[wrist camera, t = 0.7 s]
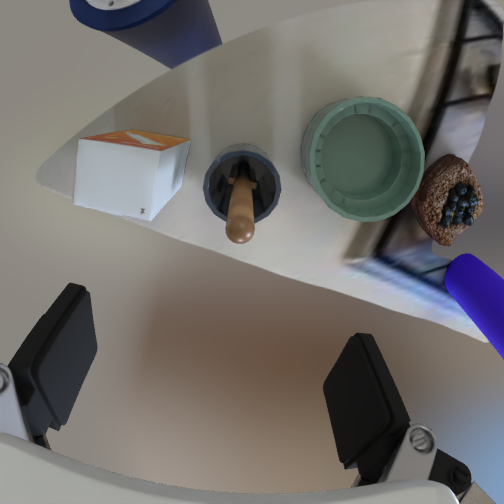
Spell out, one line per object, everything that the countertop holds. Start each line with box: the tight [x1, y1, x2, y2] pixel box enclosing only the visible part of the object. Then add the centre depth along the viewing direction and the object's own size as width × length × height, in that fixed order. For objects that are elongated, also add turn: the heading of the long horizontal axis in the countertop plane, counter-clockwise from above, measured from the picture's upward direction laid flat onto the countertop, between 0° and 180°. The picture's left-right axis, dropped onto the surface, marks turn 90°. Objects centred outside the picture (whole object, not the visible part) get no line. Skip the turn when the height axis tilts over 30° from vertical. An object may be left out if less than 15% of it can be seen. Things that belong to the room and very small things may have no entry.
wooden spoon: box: [226, 169, 257, 244], centre depth 26 cm, size 2×3×19 cm, turn 77°
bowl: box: [301, 97, 425, 222], centre depth 32 cm, size 14×14×6 cm
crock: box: [203, 143, 281, 223], centre depth 32 cm, size 7×7×8 cm
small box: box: [73, 130, 191, 221], centre depth 28 cm, size 8×6×13 cm
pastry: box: [410, 154, 484, 246], centre depth 34 cm, size 11×12×6 cm
